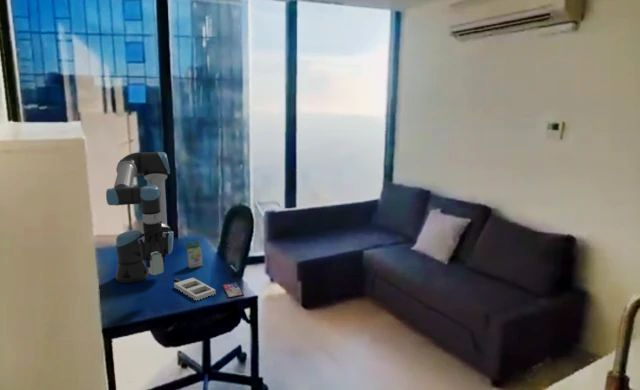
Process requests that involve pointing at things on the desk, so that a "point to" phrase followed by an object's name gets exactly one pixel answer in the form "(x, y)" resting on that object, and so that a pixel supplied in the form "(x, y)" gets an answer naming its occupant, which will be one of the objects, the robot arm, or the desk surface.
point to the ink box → (194, 255)
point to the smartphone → (232, 290)
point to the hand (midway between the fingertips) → (156, 271)
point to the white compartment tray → (194, 288)
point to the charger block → (156, 262)
